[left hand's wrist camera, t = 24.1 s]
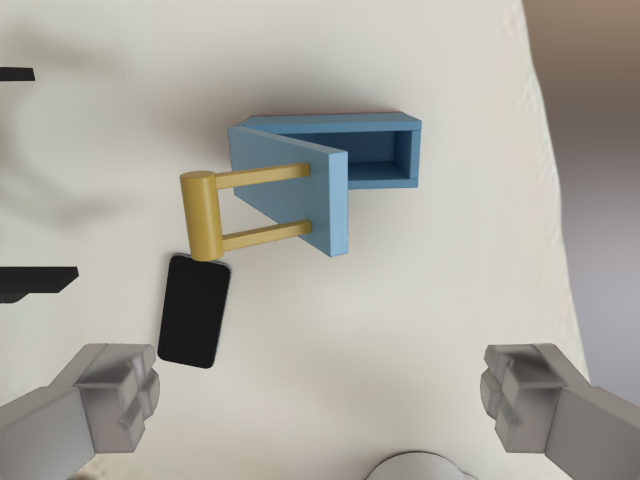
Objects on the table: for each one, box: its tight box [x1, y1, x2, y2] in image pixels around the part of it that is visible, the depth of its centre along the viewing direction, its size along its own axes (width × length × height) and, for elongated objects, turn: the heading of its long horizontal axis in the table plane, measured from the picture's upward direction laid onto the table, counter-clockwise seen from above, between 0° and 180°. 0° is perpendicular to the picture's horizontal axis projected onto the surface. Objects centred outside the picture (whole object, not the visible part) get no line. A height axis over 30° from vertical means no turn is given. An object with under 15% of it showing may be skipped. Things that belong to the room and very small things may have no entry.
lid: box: [180, 126, 348, 261], centre depth 28 cm, size 16×6×8 cm
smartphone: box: [157, 254, 232, 369], centre depth 53 cm, size 7×1×15 cm
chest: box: [236, 112, 422, 189], centre depth 41 cm, size 16×6×9 cm, turn 91°
